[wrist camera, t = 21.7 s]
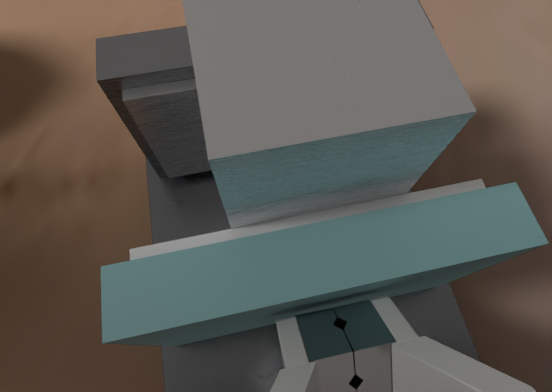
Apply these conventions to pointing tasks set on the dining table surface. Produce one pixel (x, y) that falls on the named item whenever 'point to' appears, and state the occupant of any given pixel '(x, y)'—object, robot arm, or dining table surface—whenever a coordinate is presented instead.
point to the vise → (214, 209)
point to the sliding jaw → (312, 263)
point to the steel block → (319, 101)
